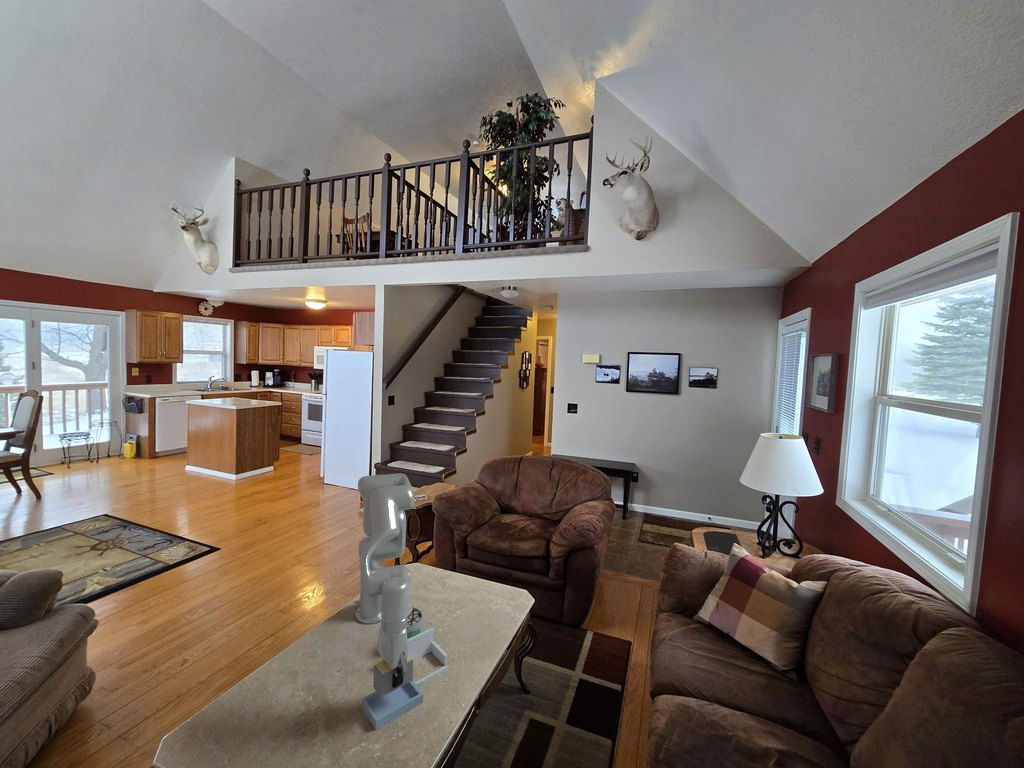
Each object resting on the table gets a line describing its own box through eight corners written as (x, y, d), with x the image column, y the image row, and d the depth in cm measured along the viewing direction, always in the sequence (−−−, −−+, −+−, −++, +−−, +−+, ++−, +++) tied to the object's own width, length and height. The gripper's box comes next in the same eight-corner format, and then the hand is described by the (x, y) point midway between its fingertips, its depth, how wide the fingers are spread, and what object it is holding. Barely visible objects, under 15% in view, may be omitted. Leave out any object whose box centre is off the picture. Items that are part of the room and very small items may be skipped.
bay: (395, 667, 144) (395, 644, 143) (431, 648, 153) (432, 627, 152) (412, 689, 135) (413, 665, 134) (450, 668, 145) (451, 645, 144)
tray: (361, 706, 128) (361, 698, 128) (406, 682, 138) (407, 674, 138) (375, 730, 121) (376, 721, 120) (422, 702, 131) (423, 694, 130)
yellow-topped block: (373, 686, 127) (373, 664, 126) (404, 670, 134) (404, 649, 133) (380, 697, 123) (381, 674, 123) (412, 680, 130) (413, 658, 129)
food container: (414, 658, 148) (414, 630, 147) (397, 654, 150) (398, 627, 149) (428, 634, 160) (428, 609, 159) (412, 631, 162) (413, 606, 161)
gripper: (369, 612, 130) (368, 668, 132) (396, 642, 118) (394, 704, 120) (392, 603, 135) (391, 657, 137) (420, 631, 123) (419, 691, 125)
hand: (393, 679), depth 128 cm, fingers closed on yellow-topped block, 5 cm apart
